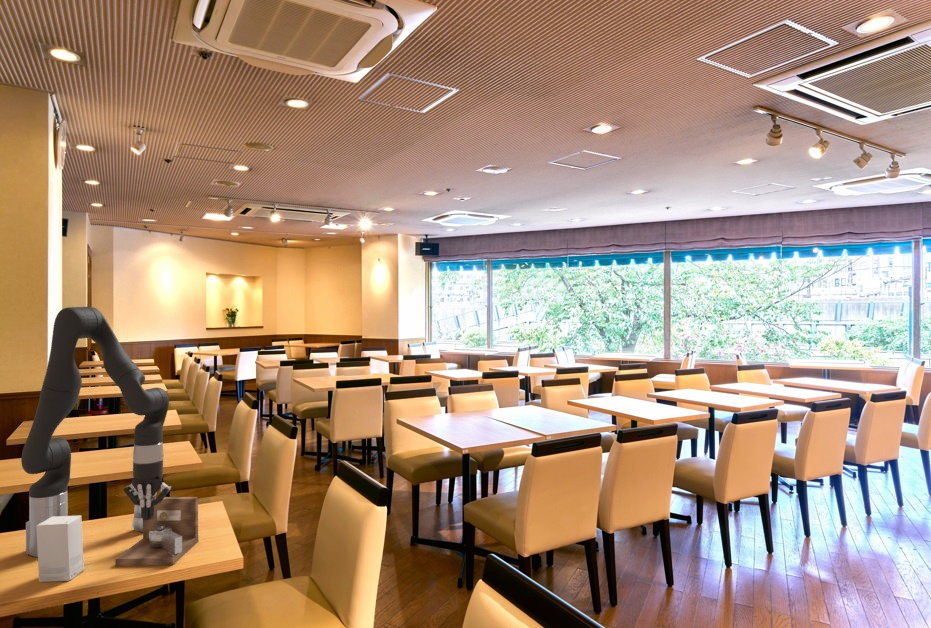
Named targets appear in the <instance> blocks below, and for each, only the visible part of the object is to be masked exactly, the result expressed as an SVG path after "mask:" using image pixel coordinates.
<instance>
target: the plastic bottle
mask: <svg viewBox="0 0 931 628" xmlns="http://www.w3.org/2000/svg"><path fill="white" fill-rule="evenodd" d="M135 490H136V489H135ZM137 493H138V492H137ZM133 505H134V504H133ZM133 509H134V510H133V518H132V528H133V529H134V531H136V532H143V518H142V517H141V506H139V505H134V508H133Z"/></svg>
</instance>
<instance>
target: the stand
mask: <svg viewBox="0 0 931 628" xmlns="http://www.w3.org/2000/svg"><path fill="white" fill-rule="evenodd" d="M157 497H158V496H156V497H155V499H156V498H157ZM161 525H164V526H170V527H172V531H173V532H175V533H176V534H178V535H180V536H182V552H180V553H177V554H174V553H172V552H170V551H168V550H166V549H164V548H163V547H158V548H153V547H150V546H149V531H150V530H151V529H153V528H156V527H157V526H161ZM198 542H199V497H198V496H176V497H175V496H174V497H173V496H171V497H170V496H165V497H164V498H163V500H162V501H161V502H160V503H158V504H157V505H154V515H153V517H152V518H151V519H150V520H143V531H142V538H141V539H140V540H139V541H137V542H136V543H135V544H133V545H132V546H131V547H129V548H128V549H126V550H125V551H124V552H123V553H121V554H120V555H118V556H117V557H116V558H115V559H114V560H115V562H114V563H115V565H114V566H115V567H127V566H128V567H129V566H131V567H132V566H134V567H135V566H136V567H137V566H141V567H142V566H144V567H145V566H174V565H175V564H177V562H178V561H180V559H181V558H182V557H184V556H185V555H186V554H187V553H188V552H189V551H190V550H191V549H192V548H193V547H194V546H195V545H196V544H198ZM188 550H189V551H188ZM185 553H186V554H185ZM184 554H185V555H184ZM173 564H174V565H173Z"/></svg>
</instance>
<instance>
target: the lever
mask: <svg viewBox="0 0 931 628" xmlns="http://www.w3.org/2000/svg"><path fill="white" fill-rule="evenodd" d="M149 546H150V547H153V548H158V547H163V548H164V549H166V550H168V551H170V552H172V553H174V554H177V553H180V552H182V536H180V535H178V534H176V533H175V532H173V531H172V527H170V526H164V525H161V526H157V527H156V528H153V529H151V530H150V531H149Z"/></svg>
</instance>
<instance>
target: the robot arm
mask: <svg viewBox="0 0 931 628" xmlns="http://www.w3.org/2000/svg"><path fill="white" fill-rule="evenodd" d="M79 339H91V340H92V341H93V342H94V343H95V344H96V345H97V346H98V347H99V349H100V350H101V355H102V363H103V364H102V365H103V368H104V370H105V372H106V373H107V375H108V377H109V378H110V379H111V380H112V381H113V382H114V384H115V385H116V387H118V388H119V390H120V392H121V396H122V397H123V400H124V402H125V405H126V407H127V408H128V410H129V411H130V412H132V413H133V414H134V415H137V416H139V417H140V416H141V417H142V416H143V420H142V421H140V422H138V423H137V424H136V425H135V426H134V433H133V435H134V437H133V438H134V439H133V441H134V442H133V452H132V480H131V483H130V484H129V485H127V486H125V487H124V488H123V493H125V494H126V496H127V497H128V498H129V499H130V501H131V502H132V503H133V505H139V506H141V517H142V518H143V520H150V519H151V518H152V517H153V515H154V505H157V504H158V503H160V502H161V501H162V500H163V498H164V497H167V495H168V493H170V492H171V490H172V488H173V487H172V486H171V485H168V484H166V483H165V479H164V477H163V475H164V456H165V455H164V445H163V444H164V443H163V437H164V433H163V430H164V429H163V428H164V424H165V422H166V418H167V414H168V410H169V406H170V405H169V403H170V399H169V395H168V393H167V391H165V389H163V388H161V387H152V388H148V389H144V387H142V385H143V384H144V383H145V381H146V376H145V374H144V373H143V371H142V370H141V369H140V368H139V367H138V366H137V364H136V363H135V362H134V361H133V359H132V358H131V357H130V356H129V355H128V354H127V352H126V351H125V350H124V347H123V346H122V345H121V342H119V339H118V338H117V335H115V333H114V331H113V329H112V328H111V326H110V324H109V322H108V320H107V319H106V317H105V316H104V314H103V313H102V312H101V311H100V310H99V309H98V308H97V307H94V306H92V307H91V306H69V307H64V308H62V309H61V310H59V311H58V313H57V314H56V317H55V318H54V323H53V328H52V337H51V345H50V352H49V358H48V363H47V367H46V371H45V375H44V379H43V383H42V386H41V390H40V394H39V399H38V405H37V408H36V412H35V415H34V418H33V421H32V424H31V427H30V430H29V433H28V435H27V438H26V440H25V444H23V445H24V446H23V449H22V453H21V456H20V457H21V466H22V469H23V471H24V472H25V473H26V474H29V475H38V474H42V473H44V474H43V475H42V476H41V477H40V478H39V479H38V480H37V481H35V482H34V483H32V484H31V485H30V487H29V488H28V497H29V498H28V499H29V500H28V502H29V506H28V507H29V512H28V513H29V514H28V515H29V516H28V517H29V518H28V519H29V520H28V521H26V522H25V555H26V554H27V556H28V554H29V556H32V557H37V558H38V551H37V531H36V525H38V524H40V523H42V522H44V521H45V520H47V519H49V518H51V517H53V516H69V511H68V510H69V508H68V507H69V505H68V502H69V501H68V500H69V499H68V485H69V483H70V481H71V466H72V450H71V446H70V443H69V442H68V441H67V439H66V438H64V437H54V438H53V435H54V433H55V431H56V429H57V428H58V427H59V425H60V424H61V423H62V422H63V421H64V420H65V419H66V417H67V416H68V415H69V414H70V413H71V412H72V410H73V409H74V408H75V407H76V404H77V402H78V399H79V396H80V393H81V388H82V383H83V382H82V381H83V380H82V375H81V372H80V370H79V368H78V366H77V363H76V361H75V353H76V347H77V345H78V341H79ZM135 489H136V490H135ZM159 490H160V493H159V494H157V493H158V492H159ZM137 492H138V493H137ZM155 497H157V498H156V499H155Z"/></svg>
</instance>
